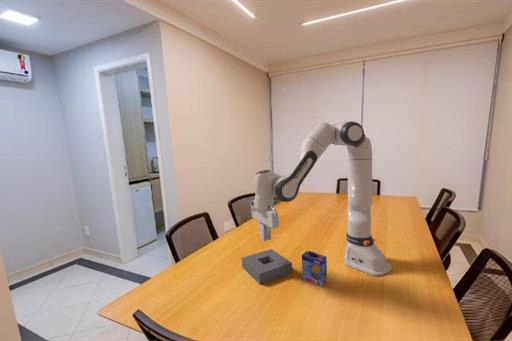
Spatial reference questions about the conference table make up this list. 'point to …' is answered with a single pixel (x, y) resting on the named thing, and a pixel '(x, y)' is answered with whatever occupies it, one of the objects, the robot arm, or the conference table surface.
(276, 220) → the robot arm
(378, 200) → the conference table surface
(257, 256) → the socket block
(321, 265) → the ink cartridge box
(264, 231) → the peg
